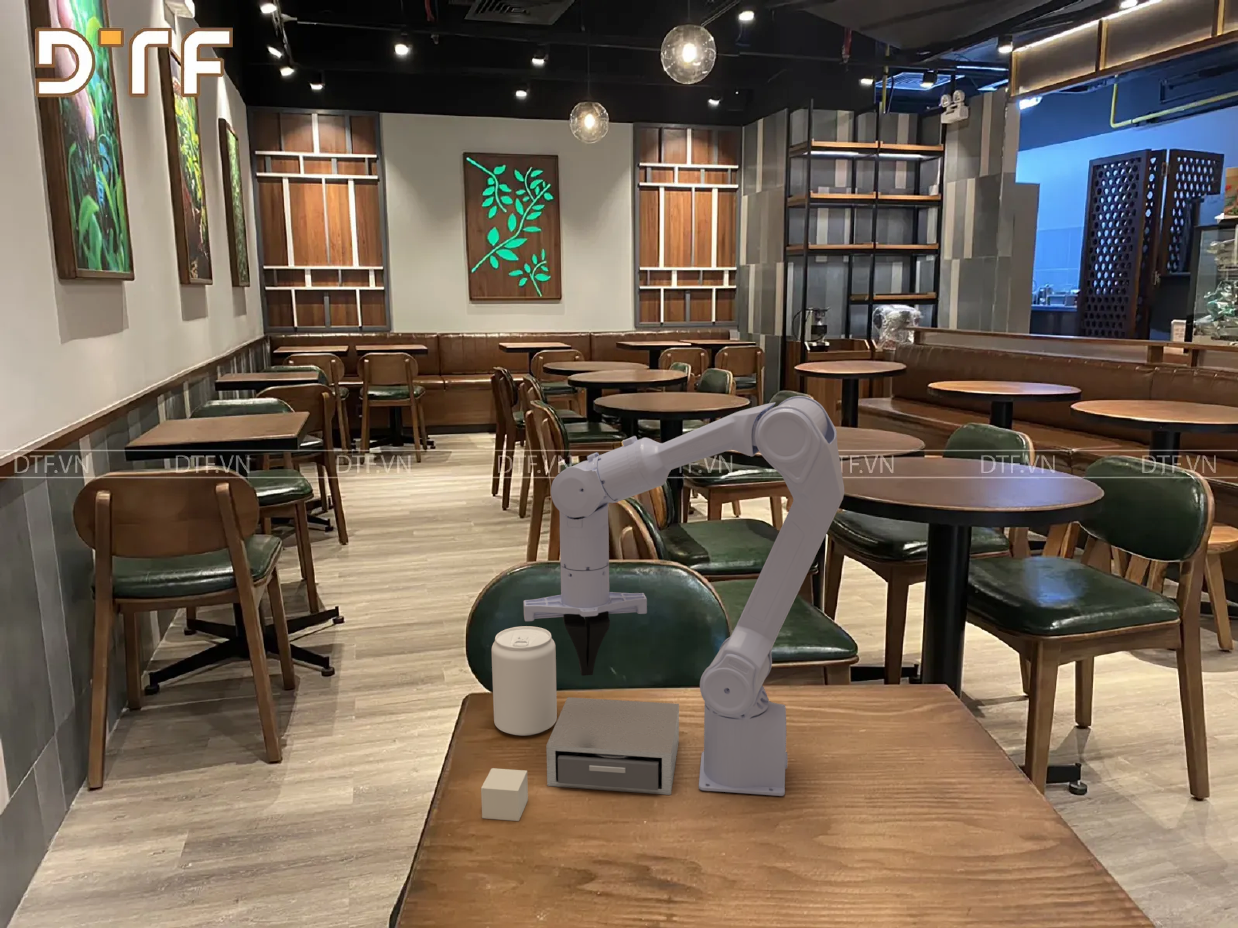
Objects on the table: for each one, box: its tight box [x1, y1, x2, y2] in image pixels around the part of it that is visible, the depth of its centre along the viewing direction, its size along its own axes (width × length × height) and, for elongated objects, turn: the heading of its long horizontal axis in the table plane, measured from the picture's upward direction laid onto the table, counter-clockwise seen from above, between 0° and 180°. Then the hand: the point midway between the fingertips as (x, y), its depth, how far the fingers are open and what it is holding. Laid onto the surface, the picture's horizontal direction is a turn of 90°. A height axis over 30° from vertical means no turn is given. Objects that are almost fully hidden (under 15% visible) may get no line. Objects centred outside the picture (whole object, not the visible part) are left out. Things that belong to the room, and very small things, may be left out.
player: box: [545, 697, 680, 796], centre depth 103 cm, size 14×12×5 cm
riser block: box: [480, 767, 529, 822], centre depth 94 cm, size 4×4×4 cm
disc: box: [592, 753, 638, 760], centre depth 102 cm, size 5×5×2 cm
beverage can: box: [491, 625, 558, 737], centre depth 112 cm, size 8×8×12 cm
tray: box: [558, 751, 662, 790], centre depth 102 cm, size 11×11×3 cm
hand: (586, 672), depth 105 cm, fingers closed
